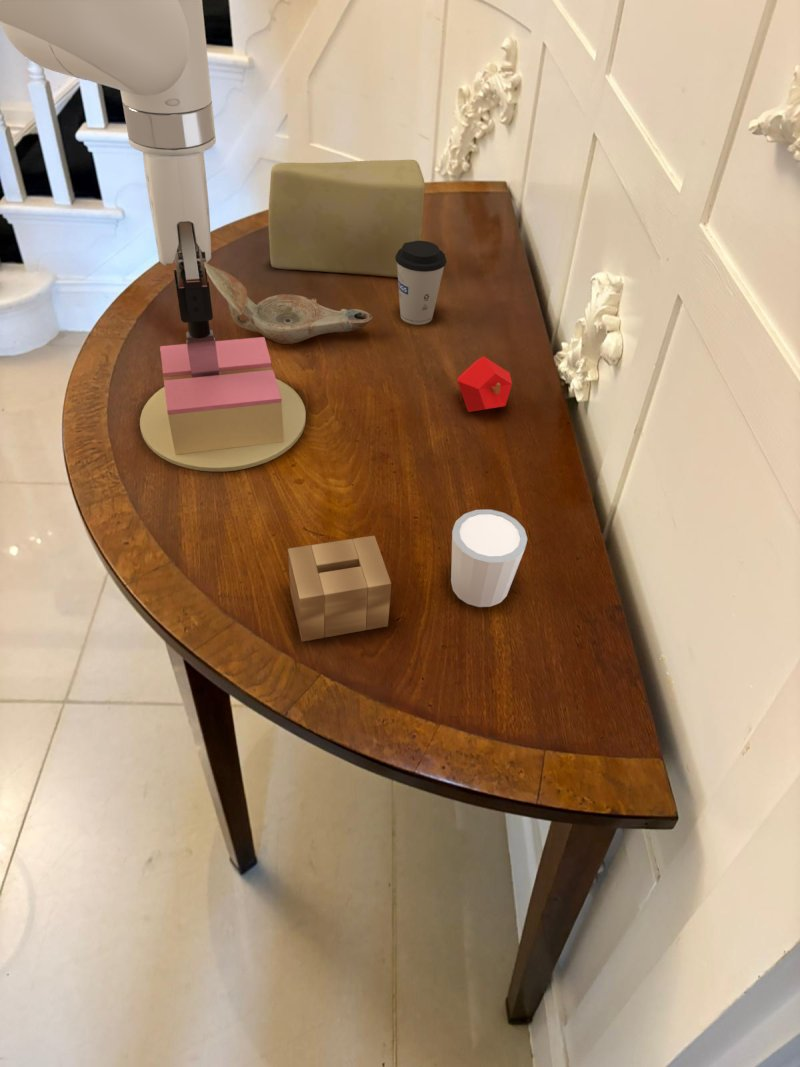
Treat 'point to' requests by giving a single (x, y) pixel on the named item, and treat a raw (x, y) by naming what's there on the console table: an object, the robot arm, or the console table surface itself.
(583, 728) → the console table surface
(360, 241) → the cheese
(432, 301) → the coffee cup
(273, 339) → the oil lamp
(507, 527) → the white cylinder
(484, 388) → the apple
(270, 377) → the cake
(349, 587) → the knife block
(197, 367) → the knife
